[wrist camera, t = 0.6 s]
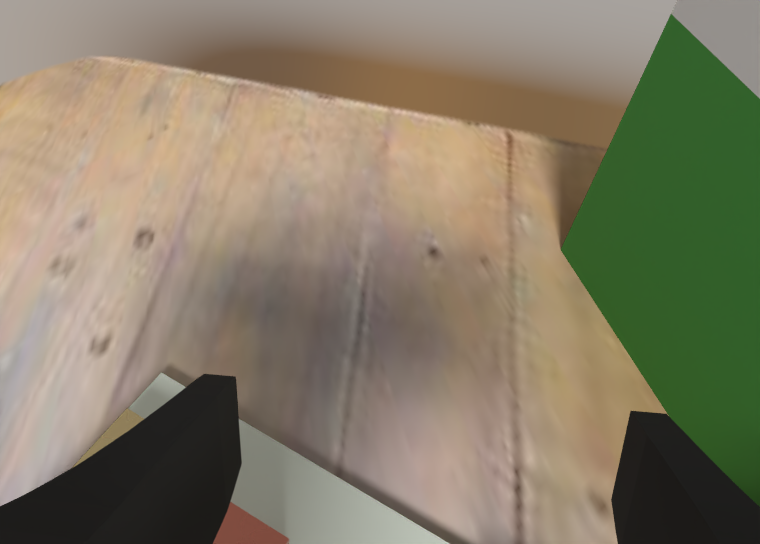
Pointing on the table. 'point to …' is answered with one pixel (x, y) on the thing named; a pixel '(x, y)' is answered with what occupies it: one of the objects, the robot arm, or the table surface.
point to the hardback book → (687, 230)
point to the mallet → (246, 529)
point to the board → (299, 490)
